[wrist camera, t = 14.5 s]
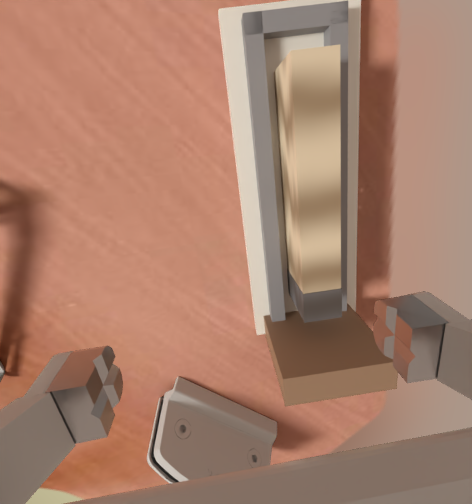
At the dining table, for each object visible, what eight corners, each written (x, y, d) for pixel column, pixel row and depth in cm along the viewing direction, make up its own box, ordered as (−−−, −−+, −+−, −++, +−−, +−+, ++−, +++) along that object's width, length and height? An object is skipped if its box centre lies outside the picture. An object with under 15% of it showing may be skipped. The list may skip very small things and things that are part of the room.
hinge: (279, 423, 41) (279, 515, 33) (259, 433, 44) (255, 521, 36) (175, 374, 37) (147, 466, 29) (160, 389, 40) (130, 477, 32)
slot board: (218, 15, 25) (222, -82, 15) (354, -1, 26) (454, -107, 15) (256, 332, 36) (274, 408, 26) (351, 318, 36) (407, 386, 26)
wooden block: (273, 72, 26) (290, 50, 20) (313, 67, 26) (341, 43, 20) (288, 293, 33) (304, 322, 28) (319, 288, 33) (342, 317, 28)
